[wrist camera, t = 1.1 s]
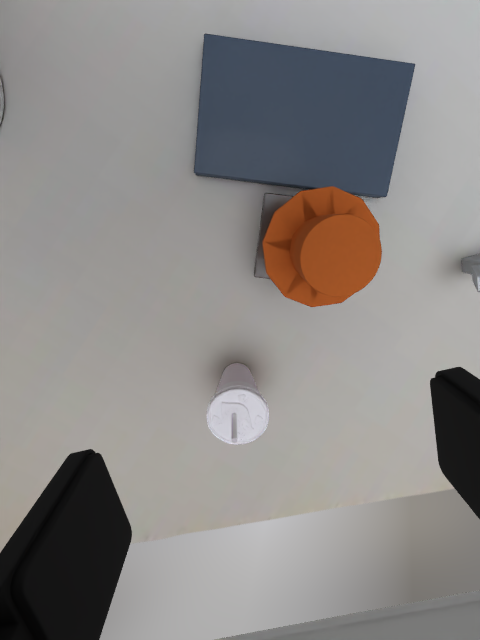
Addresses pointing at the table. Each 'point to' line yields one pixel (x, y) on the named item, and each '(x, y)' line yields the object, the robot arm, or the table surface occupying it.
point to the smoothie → (237, 407)
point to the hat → (322, 246)
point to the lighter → (472, 268)
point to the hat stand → (268, 209)
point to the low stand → (299, 116)
